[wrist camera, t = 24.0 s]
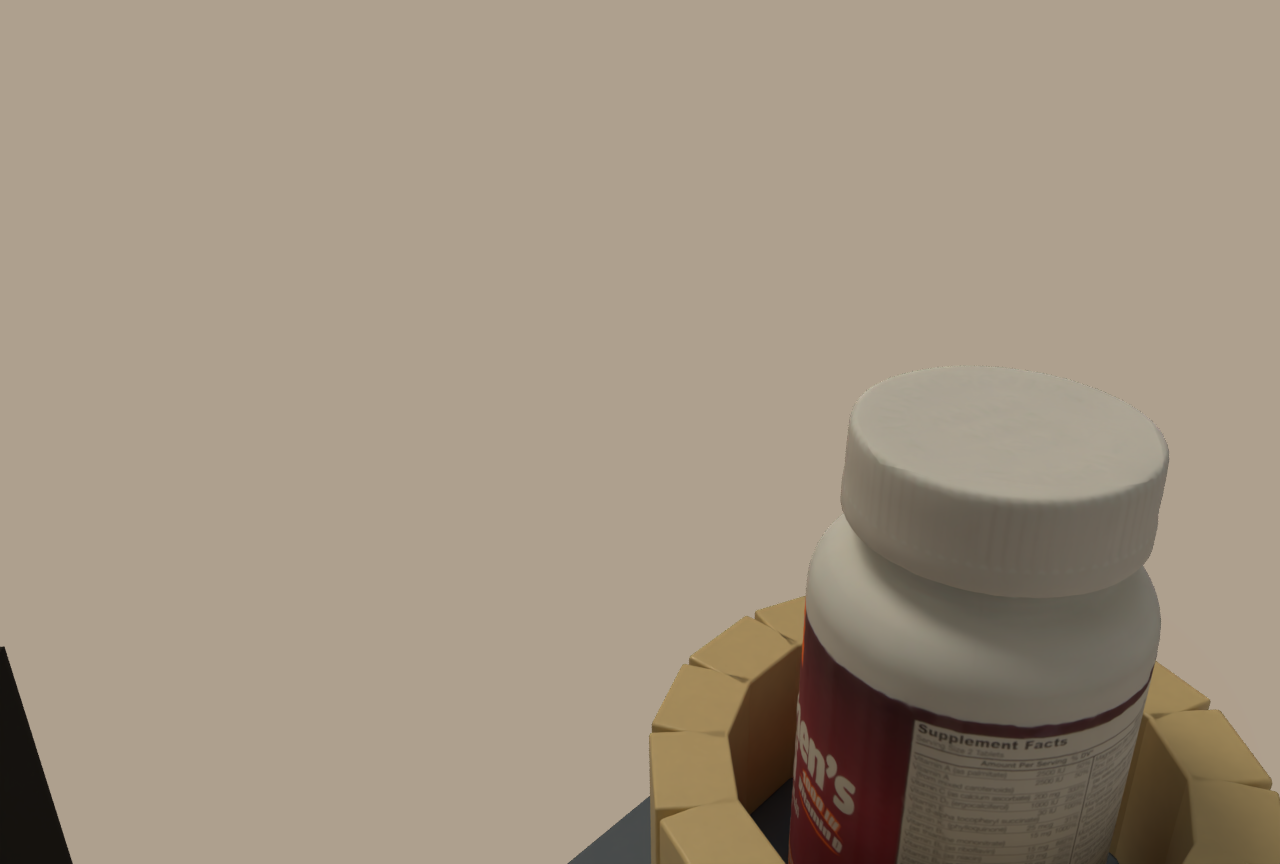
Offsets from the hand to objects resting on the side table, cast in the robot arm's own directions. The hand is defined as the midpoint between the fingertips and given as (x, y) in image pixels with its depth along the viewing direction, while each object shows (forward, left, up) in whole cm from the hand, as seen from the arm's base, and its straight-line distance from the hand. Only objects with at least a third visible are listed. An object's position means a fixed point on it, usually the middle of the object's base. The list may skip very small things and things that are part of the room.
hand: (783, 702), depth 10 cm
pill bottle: (+7, +7, -13) cm, 17 cm away
